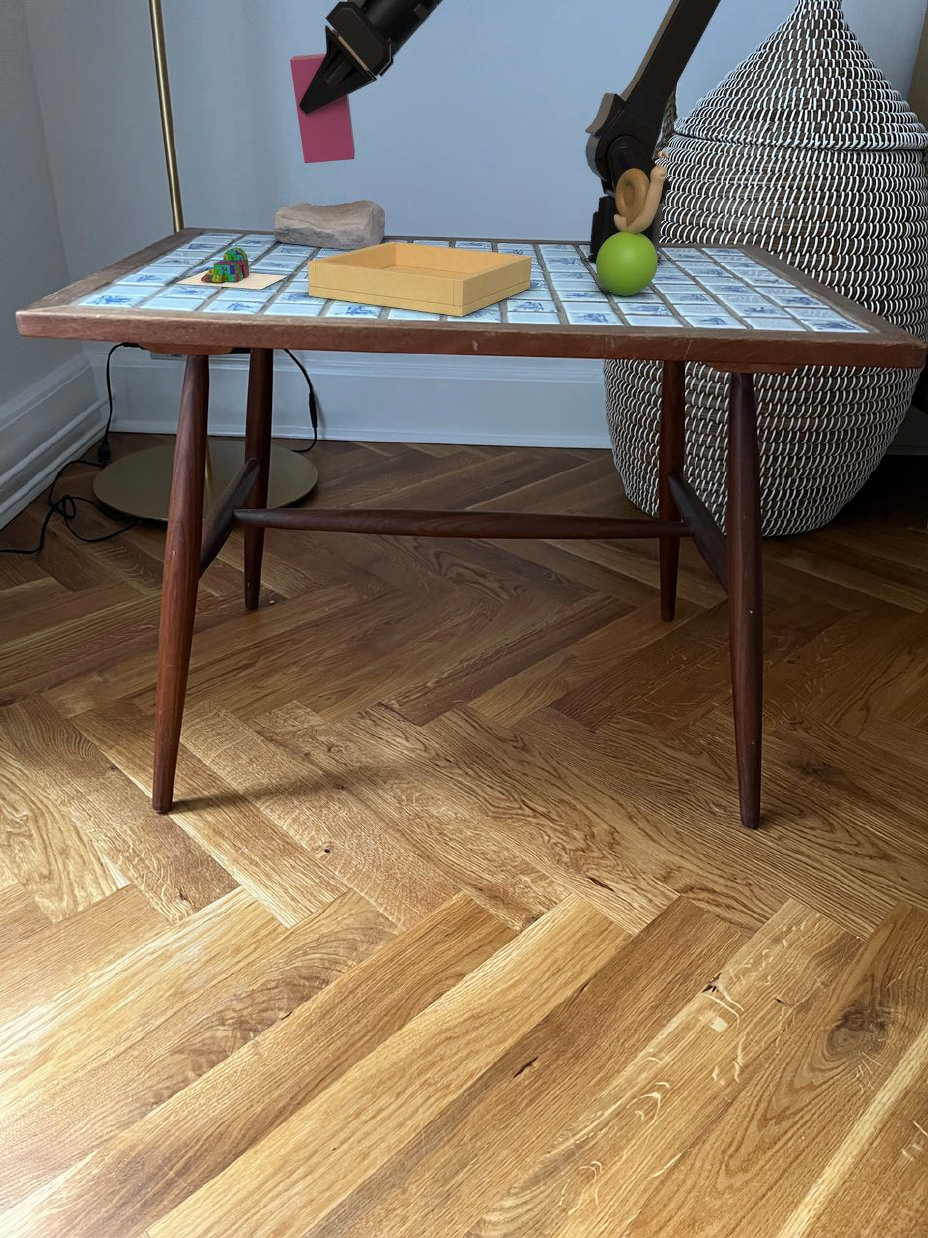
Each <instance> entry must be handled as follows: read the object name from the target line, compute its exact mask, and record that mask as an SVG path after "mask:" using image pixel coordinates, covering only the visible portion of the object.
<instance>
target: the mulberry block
mask: <svg viewBox="0 0 928 1238" xmlns="http://www.w3.org/2000/svg"><path fill="white" fill-rule="evenodd" d="M325 55H326V53H317V54H305V55H294V56H292V57H291V58H290V59H289V64H290V70H291V77H292V86H293V92H294V98H295V106H296V113H297V119H298V128H299V134H300V141H301V146H302V147H301V148H302V155H303V161H304V164H312V163H313V164H315V163H326V162H337V161H348V160H355V155H356V154H355V153H356V149H355V148H356V147H355V141H354V131H353V123H352V115H351V106H350V97H349V94H346V95H344V96H342V97H340V98H338V99H336V100H334V101H332V102H330V103H328V104H326V105H324V106H322V107H320V108H318V109H316V110H315V111H313V112H311V113H309V114H306V113H305V112H304V111H303V110H302V109H301V108H300V107H299V103H300V102H301V100H302V98H303V96H304V94H305V92H306V90H307V89H308V87H309V85H310V83H311V81H312V79H313V78H314V76H315V74H316V72H317V70H318V68H319V66H320V64H321V63H322V61H323V59H324V57H325Z"/></svg>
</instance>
